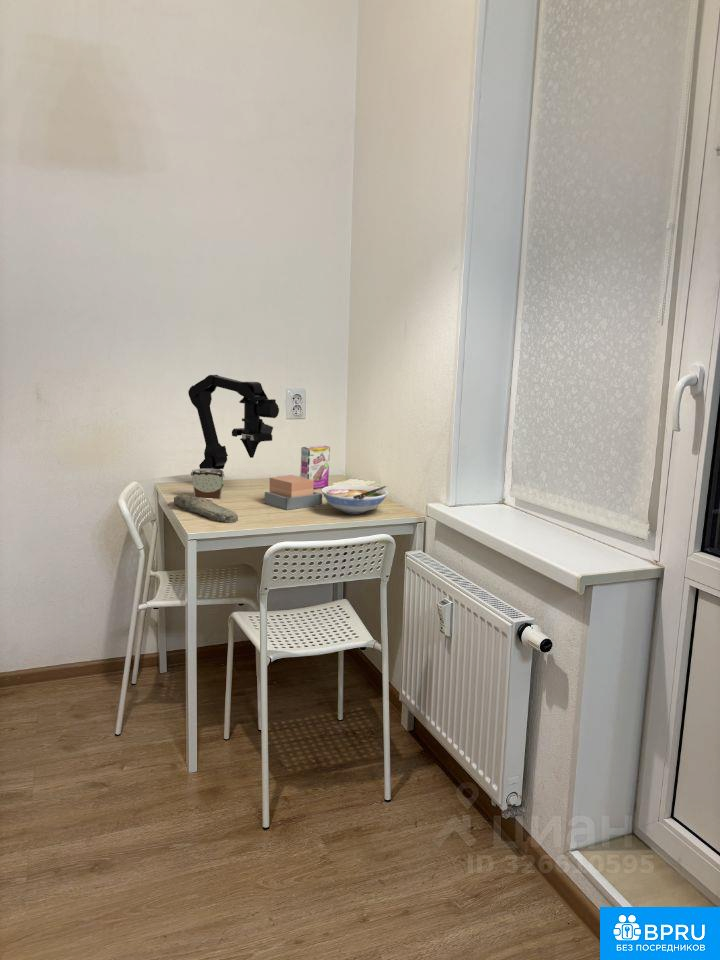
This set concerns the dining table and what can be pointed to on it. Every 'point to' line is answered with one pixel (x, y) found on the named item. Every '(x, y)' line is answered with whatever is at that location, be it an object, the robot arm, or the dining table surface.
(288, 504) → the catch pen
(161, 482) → the dining table surface
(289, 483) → the tile stack
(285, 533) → the dining table surface
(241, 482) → the dining table surface
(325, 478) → the candy bar box
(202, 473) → the food container
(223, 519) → the elongated rock
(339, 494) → the ramen bowl
